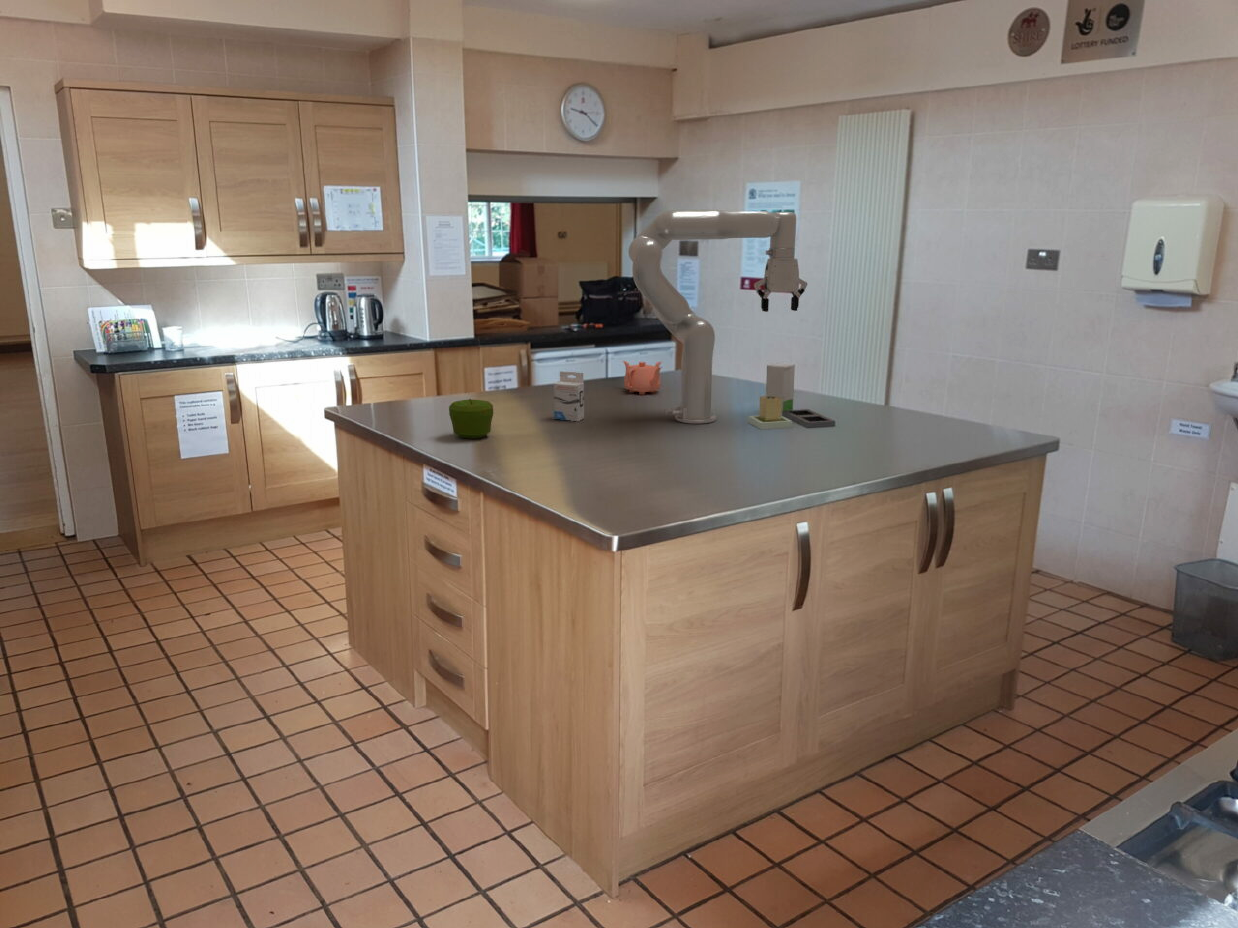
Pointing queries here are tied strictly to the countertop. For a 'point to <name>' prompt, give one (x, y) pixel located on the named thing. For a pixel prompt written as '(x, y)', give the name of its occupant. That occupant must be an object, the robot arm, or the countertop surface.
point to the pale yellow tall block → (770, 408)
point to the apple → (471, 418)
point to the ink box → (569, 397)
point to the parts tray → (770, 423)
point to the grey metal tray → (808, 418)
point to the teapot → (642, 377)
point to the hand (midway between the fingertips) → (779, 310)
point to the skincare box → (781, 383)
